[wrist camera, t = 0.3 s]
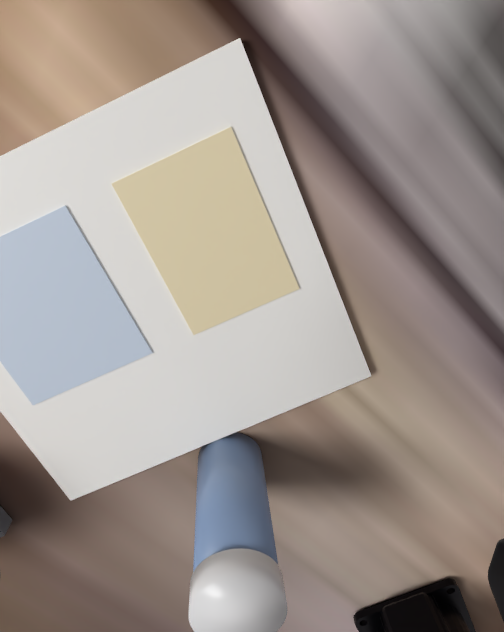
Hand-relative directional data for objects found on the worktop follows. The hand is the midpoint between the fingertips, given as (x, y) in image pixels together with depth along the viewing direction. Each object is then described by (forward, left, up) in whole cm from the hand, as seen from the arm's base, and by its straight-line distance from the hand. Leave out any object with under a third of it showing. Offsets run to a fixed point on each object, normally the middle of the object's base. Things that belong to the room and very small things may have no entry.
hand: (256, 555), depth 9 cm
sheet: (+1, +4, -13) cm, 14 cm away
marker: (-8, +4, -13) cm, 16 cm away
